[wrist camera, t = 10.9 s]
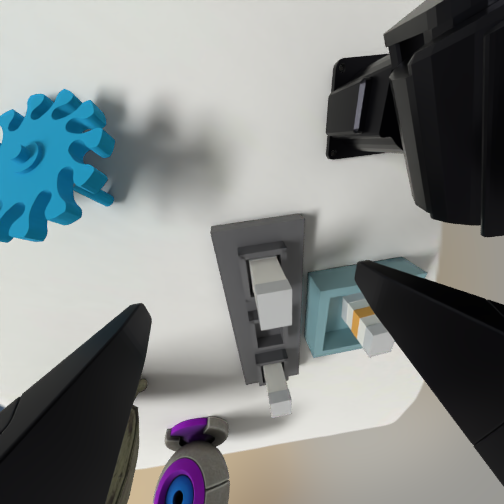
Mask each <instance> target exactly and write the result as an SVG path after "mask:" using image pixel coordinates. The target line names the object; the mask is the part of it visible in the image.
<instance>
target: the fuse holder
mask: <svg viewBox="0 0 504 504" xmlns="http://www.w3.org/2000/svg"><path fill="white" fill-rule="evenodd" d="M304 221H305V219H304V218H303V217H302V216H301V215H300V214H293V215H286V216H279V217H273V218H266V219H259V220H252V221H245V222H239V223H232V224H225V225H218V226H211V232H210V233H211V237H212V241H213V246H214V250H215V254H216V258H217V263H218V267H219V271H220V275H221V280H222V284H223V288H224V292H225V297H226V301H227V305H228V309H229V314H230V318H231V322H232V327H233V331H234V335H235V339H236V344H237V348H238V352H239V356H240V361H241V365H242V369H243V373H244V378H245V382H246V385H248V384H253V383H258V382H259V385H260V386H262V385H266V381H265V378H264V372H263V366H264V365H269V364H274V363H279V362H281V364H282V368H283V371H284V375H285V379H286V381H287V380H288V376H292V375H297V374H299V349H300V323H301V298H302V272H303V247H304ZM273 255H276V256H277V260H278V262H279V264H280V266H281V268H282V270H283V273H284V275H285V277H286V279H288V281H289V283H290V286H291V288H292V325H289V326H284V327H278V328H273V329H267V330H262V331H261V327H260V323H259V317H258V310H257V305H256V301H255V296H254V293H253V289H252V283H251V275H250V268H249V260H248V259H254V258H260V257H266V256H273Z"/></svg>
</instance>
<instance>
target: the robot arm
mask: <svg viewBox="0 0 504 504" xmlns="http://www.w3.org/2000/svg"><path fill="white" fill-rule="evenodd" d="M383 35H384V40H385V46H386V47H388V48H389V53H390V54H382V55H371V56H361V57H351V58H343V59H340V60H339V61H338V62H337V63H336V64H335V65H334V68H333V77H332V89H331V94H330V95H329V98H328V111H327V123H326V134H327V135H328V136H327V148H326V156H327V158H328V159H341V158H349V157H356V156H364V155H372V154H379V153H387V152H388V153H404V156H405V161H406V167H407V172H408V177H409V182H410V187H411V192H412V196H413V199H414V201H415V204H416V205H417V206H419V207H420V208H422V209H423V210H425V211H426V212H428V213H430V216H431V218H432V219H435V220H439V221H443V222H447V223H453V224H464V225H481V235H482V236H484V237H495V236H503V235H504V0H426V1H424V2H423V3H422V4H421V5H419V6H418V7H417V8H416V9H414V10H413V11H412V12H411V13H409V14H408V15H407V16H406V17H404V18H403V19H402V20H401V21H399V22H398V23H397V24H396V25H394V26H393V27H392V28H391V29H389V30H388V31H387V32H386V33H384V34H383ZM340 65H342V67H343V71H342V72H340V71H339V66H340ZM333 150H334V155H333V156H331V152H332V151H333ZM354 278H355V282H356V284H357V286H358V287H359V289H360V291H361V292H362V294H363V296H364V297H365V299H366V301H367V302H368V304H369V306H370V307H371V309H372V310H373V312H374V313H375V315H376V316H377V318H378V319H379V320H380V322H381V323H382V324H383V326H384V327H385V328H386V330H387V331H388V332H389V334H390V335H391V336H392V338H393V339H394V340H395V342H396V343H397V344H398V346H399V347H400V348H401V350H402V351H403V352H404V354H405V355H406V356H407V358H408V359H409V360H410V362H411V363H412V364H413V366H414V367H415V368H416V370H417V371H418V372H419V374H420V375H421V376H422V378H423V379H424V380H425V382H426V383H427V384H428V386H429V387H430V388H431V390H432V391H433V392H434V394H435V395H436V396H437V398H438V399H439V401H440V402H441V403H442V404H443V406H444V407H445V409H446V410H447V411H448V413H449V414H450V415H451V417H452V418H453V419H454V421H455V422H456V423H457V425H458V426H459V427H460V429H461V430H462V431H463V433H464V434H465V435H466V437H467V438H468V439H469V441H470V442H471V443H472V444H473V445H474V448H475V449H476V450H477V452H478V453H479V454H480V456H481V457H482V458H483V460H484V461H485V462H486V464H487V465H488V466H489V467H490V469H491V470H492V471H493V473H494V474H495V476H496V477H497V478H498V480H499V481H500V482H501V484H502V485H503V486H504V305H503V304H499V303H497V302H494V301H491V300H486V299H485V298H482V297H479V296H476V295H473V294H469V293H467V292H464V291H460V290H457V289H454V288H451V287H448V286H445V285H442V284H439V283H436V282H433V281H430V280H427V279H424V278H421V277H418V276H415V275H412V274H409V273H406V272H403V271H400V270H397V269H394V268H391V267H388V266H385V265H382V264H379V263H376V262H373V261H370V260H365V261H360V262H358V263H357V266H356V271H355V277H354ZM151 323H152V319H151V316H150V314H149V312H148V311H147V309H146V307H145V306H144V304H142V303H138V304H133V305H130V306H129V307H128V308H126V309H125V310H124V311H123V312H121V313H120V314H119V315H118V316H117V317H115V318H114V319H113V320H112V321H111V322H109V323H108V324H107V325H106V326H104V327H103V328H102V329H101V330H100V331H98V332H97V333H96V334H95V335H93V336H92V337H91V338H90V339H89V340H87V341H86V342H85V343H84V344H83V345H81V346H80V347H79V348H78V349H76V350H75V351H74V352H73V353H72V354H70V355H69V356H68V357H67V358H66V359H64V360H63V361H62V362H61V363H59V364H58V365H57V366H56V367H55V368H53V369H52V370H51V371H50V372H48V373H47V374H46V375H45V376H44V377H42V378H41V379H40V380H39V381H38V382H36V383H35V384H34V385H33V386H31V387H30V388H29V389H28V390H27V391H25V392H24V393H23V394H22V396H21V397H18V398H17V399H16V400H14V401H13V402H12V403H11V404H9V405H8V406H7V407H6V408H5V409H3V410H2V411H1V412H0V504H105V503H106V500H107V496H108V492H109V489H110V485H111V482H112V478H113V474H114V471H115V467H116V464H117V460H118V456H119V453H120V449H121V446H122V442H123V438H124V435H125V431H126V428H127V424H128V420H129V417H130V413H131V410H132V406H133V402H134V399H135V395H136V391H137V388H138V384H139V381H140V377H141V373H142V370H143V366H144V362H145V358H146V353H147V347H148V341H149V335H150V329H151Z"/></svg>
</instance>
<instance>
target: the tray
mask: <svg viewBox="0 0 504 504" xmlns="http://www.w3.org/2000/svg"><path fill="white" fill-rule="evenodd" d="M374 262H376V263H379V264H382V265H385V266H388V267H391V268H394V269H397V270H400V271H403V272H406V273H409V274H412V275H415V276H418V277H421V278H424V279H425V277H426V275H427V272H425V271H423V270H422V269H420V268H419V267H417V266H416V265H414V264H412V263H411V262H409V261H408V260H406V259H405V258H403V257H398V258H392V259H386V260H380V261H374ZM356 266H357V264H356V265H350V266H344V267H338V268H332V269H326V270H320V271H315V272H309V273H308V281H307V298H306V316H305V333H304V337H305V339H306V341H307V344H308V346H309V348H310V351H311V353H312V355H313V358H315V357H320V356H325V355H330V354H335V353H341V352H346V351H351V350H356V349H361V348H362V346H361V344H360V343H359V341H358V340H357V339H356V337H355V336H354V334H353V333H352V331H351V329H350V328H349V327H348V325H347V324H346V323H345V322H344V320H343V319H342V317H341V315H342V300H343V296H347V295H351V294H355V293H360V292H361V291H360V289H359V287H358V286H357V284H356V282H355V278H354V277H355V271H356ZM394 342H395V341H394Z"/></svg>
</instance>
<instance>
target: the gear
mask: <svg viewBox="0 0 504 504" xmlns="http://www.w3.org/2000/svg"><path fill="white" fill-rule="evenodd" d="M27 106H28V108H27V113H26V116H25V117H23V116H22V115H20V114H19V113H17V112H16V111H14V110H13V109H12V110H9V111H7V112H6V113H4V114H2V115H1V116H0V126H1V127H2V129H3V140H2V144H1V143H0V241H1V242H6V243H8V242H9V241H11V240H12V239H13V237H15V238H19V239H24V240H29V241H34V242H40V241H44V239H45V238H46V236H47V231H48V230H47V220H49V221H52V222H55V223H59V224H62V225H69V224H71V223H73V222H75V221H76V220H78V219H79V218H81V216H82V210H81V208H80V207H79V206H78V205H77V204H76V202H75V200H74V196H73V190H74V191H76V192H78V193H80V194H82V195H84V196H86V197H88V198H90V199H92V200H94V201H96V202H98V203H101V204H103V205H105V206H110V205H111V204H112V203H113V201H114V198H113V196H111V195H110V194H108V193H106V192H104V191H103V190H101V188H102V187H103V186H104V184H105V183H106V181H107V180H108V178H107V176H106V175H105V174H103V173H102V172H100V171H99V170H97V169H96V168H94V167H93V166H91V165H89V164H84V162H83V157H84V155H85V154H86V153H87V152H88V151H90V150H92V151H94V152H95V153H96V154H98V155H99V156H100V157H102V158H107V157H110V156H111V154H112V152H113V149H114V145H115V140H114V139H113V138H112V137H111V136H110V135H109V134H107V133H106V132H105V131H104V130H103V129H102V128H104V127H105V126H106V118H105V115H104V113H103V112H102V111H101V110H100V109H99V108H98V107H97V106H96V105H95V104H94V103H93V102H92V101H91V100H88V101H86V102H84V103H82V102H81V101H80V100H79V99H78V98H77V97H76V96H75V95H74V94H73V93H71V92H70V91H68V90H66V89H63V90H62V91H61V92H59V94H58V95H57V97H56V100H55V102H53V101H51V100H50V99H49V98H48V97H47V96H45V95H44V94H35V95H31V96H30V98H29V99H28V102H27ZM87 129H92V130H90V131H88V132H85V133H82V132H84V131H85V130H87Z"/></svg>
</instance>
